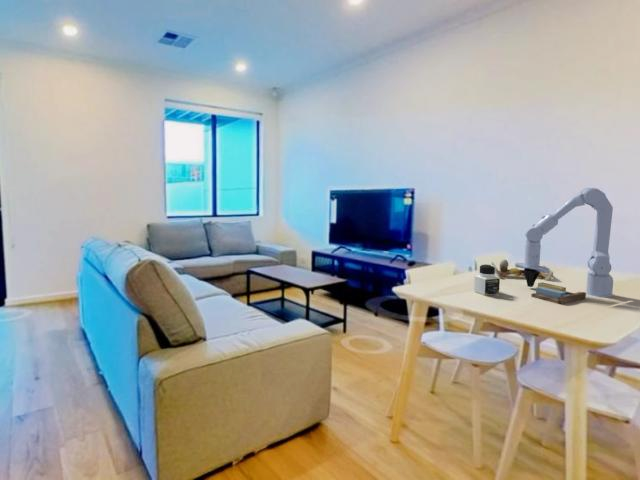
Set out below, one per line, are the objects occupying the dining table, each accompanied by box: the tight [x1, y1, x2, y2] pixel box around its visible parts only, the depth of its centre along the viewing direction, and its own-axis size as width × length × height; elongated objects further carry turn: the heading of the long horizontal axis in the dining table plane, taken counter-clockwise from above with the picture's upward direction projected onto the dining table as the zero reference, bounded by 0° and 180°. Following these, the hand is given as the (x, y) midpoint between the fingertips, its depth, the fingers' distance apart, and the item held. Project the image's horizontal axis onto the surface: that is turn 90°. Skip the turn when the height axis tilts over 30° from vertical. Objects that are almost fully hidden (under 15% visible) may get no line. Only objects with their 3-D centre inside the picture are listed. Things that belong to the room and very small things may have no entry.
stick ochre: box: [537, 282, 567, 292], centre depth 161 cm, size 10×3×4 cm, turn 26°
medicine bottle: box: [473, 264, 501, 297], centre depth 165 cm, size 7×7×12 cm
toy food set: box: [491, 259, 554, 282], centre depth 197 cm, size 25×18×8 cm
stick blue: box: [535, 286, 567, 299], centre depth 154 cm, size 10×3×4 cm, turn 26°
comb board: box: [530, 291, 587, 305], centre depth 155 cm, size 12×15×3 cm
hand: (530, 286), depth 170 cm, fingers closed
